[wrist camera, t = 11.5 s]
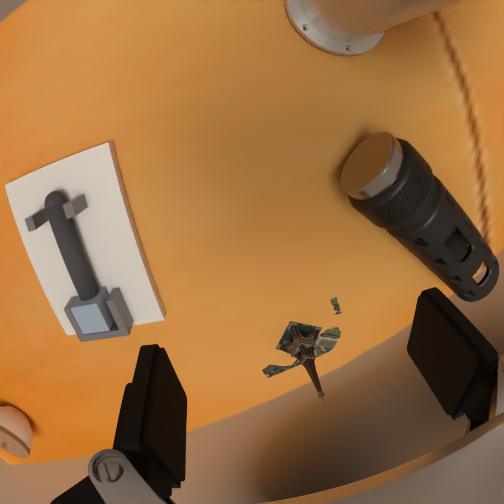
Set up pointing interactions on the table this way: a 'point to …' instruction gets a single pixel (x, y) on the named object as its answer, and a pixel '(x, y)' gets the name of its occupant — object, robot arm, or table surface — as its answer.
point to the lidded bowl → (15, 432)
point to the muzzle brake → (418, 213)
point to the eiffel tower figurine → (306, 347)
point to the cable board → (87, 239)
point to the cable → (78, 270)
